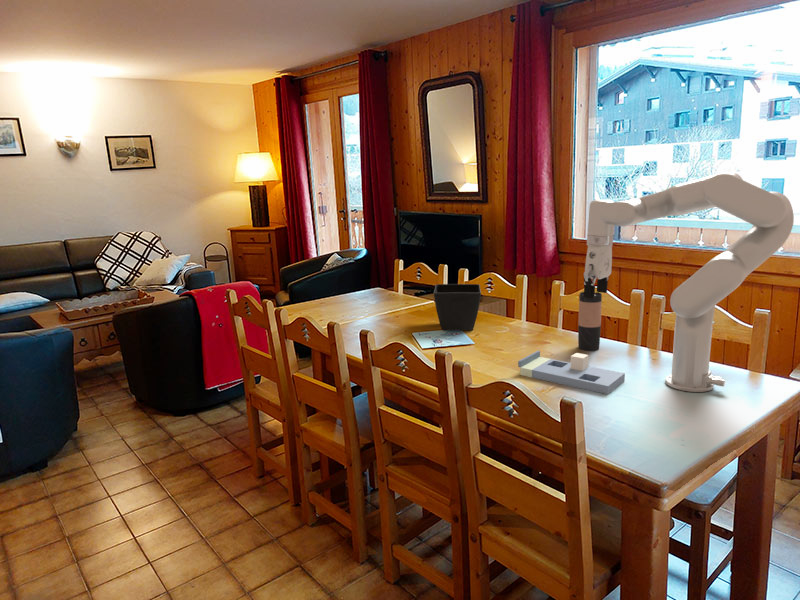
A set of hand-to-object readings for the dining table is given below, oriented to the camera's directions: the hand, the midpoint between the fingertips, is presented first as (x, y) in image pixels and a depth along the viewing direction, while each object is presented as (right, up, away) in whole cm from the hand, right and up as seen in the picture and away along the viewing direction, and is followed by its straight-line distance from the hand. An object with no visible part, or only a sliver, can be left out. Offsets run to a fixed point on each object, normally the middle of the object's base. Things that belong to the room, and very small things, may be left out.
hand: (595, 294), depth 178 cm
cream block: (-5, -23, -1) cm, 23 cm away
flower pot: (-37, -13, +61) cm, 72 cm away
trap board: (-8, -26, -2) cm, 27 cm away
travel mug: (+7, -19, +26) cm, 33 cm away
